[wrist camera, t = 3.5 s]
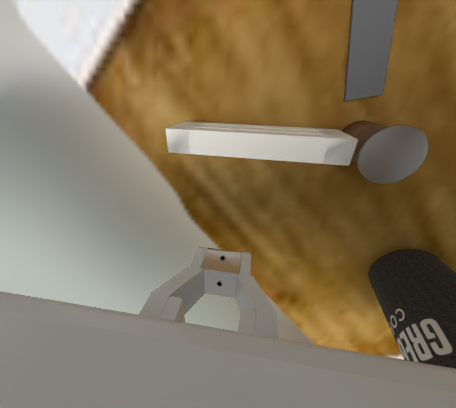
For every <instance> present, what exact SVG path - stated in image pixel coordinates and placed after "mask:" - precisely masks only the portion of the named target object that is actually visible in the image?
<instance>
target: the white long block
mask: <svg viewBox="0 0 456 408" xmlns="http://www.w3.org/2000/svg"><path fill="white" fill-rule="evenodd" d="M166 136H167V144H168V152H170V153H183V154H197V155H210V156H224V157H237V158H251V159H264V160H278V161H291V162H305V163H318V164H332V165H345V166H349V165H350V162H351V159H352V156H353V153H354V151H355V148H356V145H357V142H358V139H356V138H354V137H352V136H350V135H348V134H346V133H344V132H342V131H340V130H338V129H323V128H303V127H284V126H265V125H246V124H227V123H207V122H188V121H186V122H183V123H180V124H177V125H174V126H171V127H168V128H166Z"/></svg>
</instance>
